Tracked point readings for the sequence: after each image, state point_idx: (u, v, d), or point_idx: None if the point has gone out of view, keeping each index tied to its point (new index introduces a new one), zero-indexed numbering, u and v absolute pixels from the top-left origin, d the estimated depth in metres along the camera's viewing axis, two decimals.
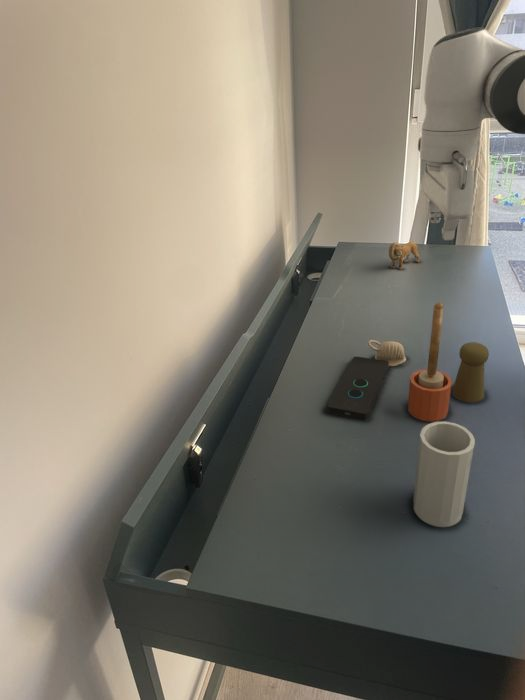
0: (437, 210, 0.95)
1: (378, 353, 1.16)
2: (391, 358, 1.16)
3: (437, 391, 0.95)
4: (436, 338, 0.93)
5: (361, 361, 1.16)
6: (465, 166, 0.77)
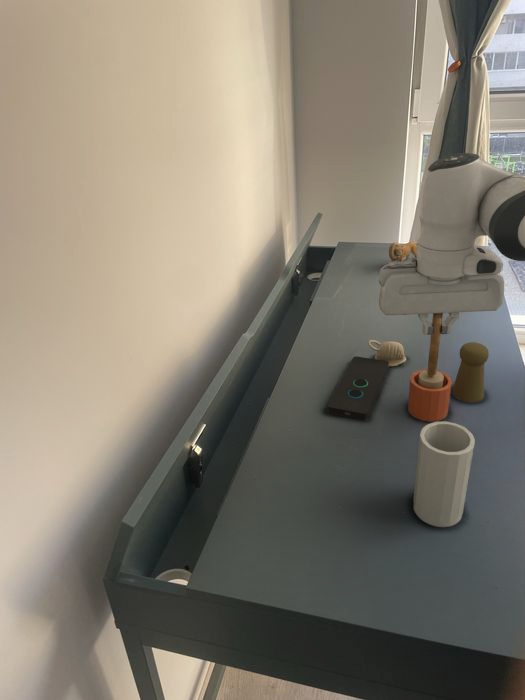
0: (447, 323, 0.92)
1: (378, 353, 1.16)
2: (391, 358, 1.16)
3: (437, 391, 0.95)
4: (436, 338, 0.93)
5: (361, 361, 1.16)
6: (381, 268, 0.88)
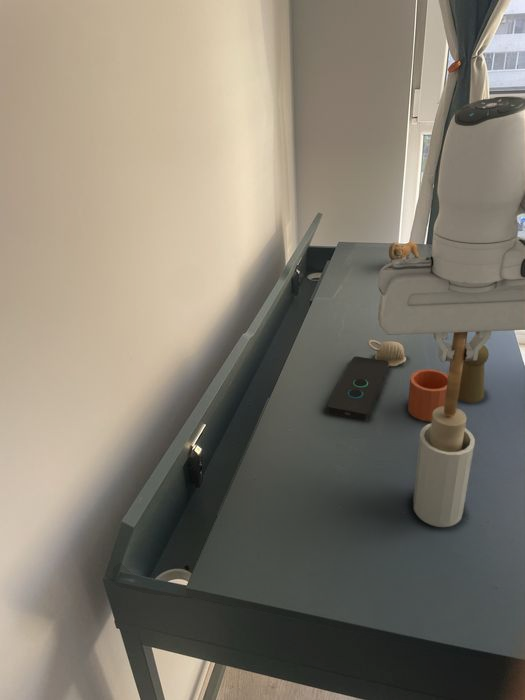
0: (474, 346, 0.66)
1: (378, 353, 1.16)
2: (391, 358, 1.16)
3: (437, 391, 0.95)
4: (458, 366, 0.67)
5: (361, 361, 1.16)
6: None
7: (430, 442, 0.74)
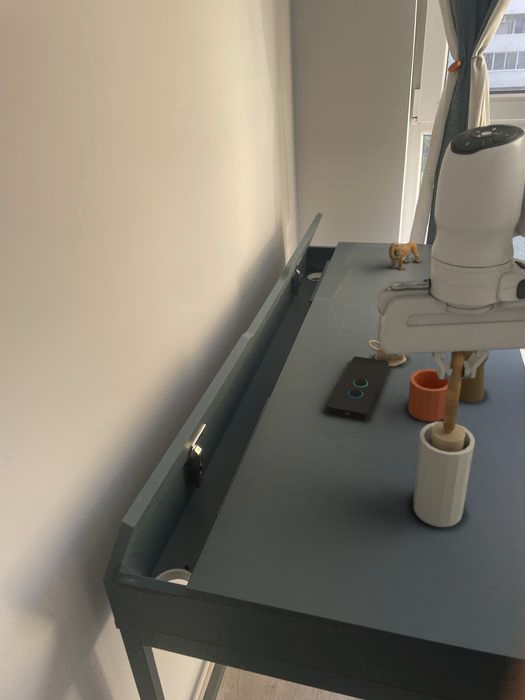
0: (472, 364, 0.67)
1: (378, 353, 1.16)
2: (391, 358, 1.16)
3: (437, 391, 0.95)
4: (456, 384, 0.68)
5: (361, 361, 1.16)
6: None
7: None
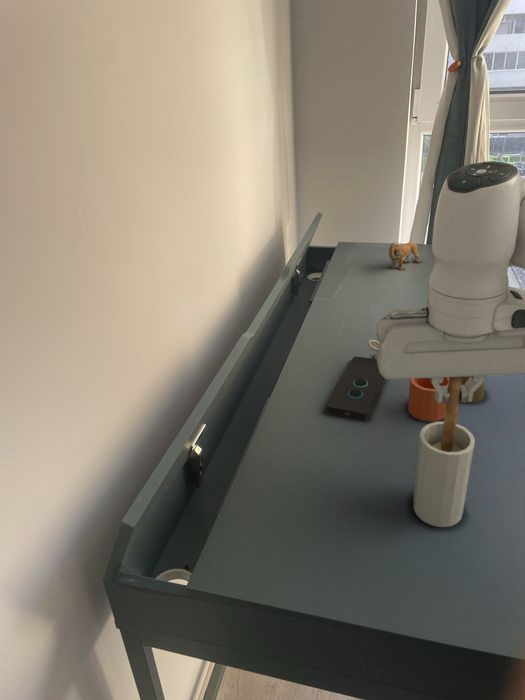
0: (469, 388, 0.69)
1: None
2: None
3: None
4: (454, 407, 0.70)
5: (361, 361, 1.16)
6: None
7: None
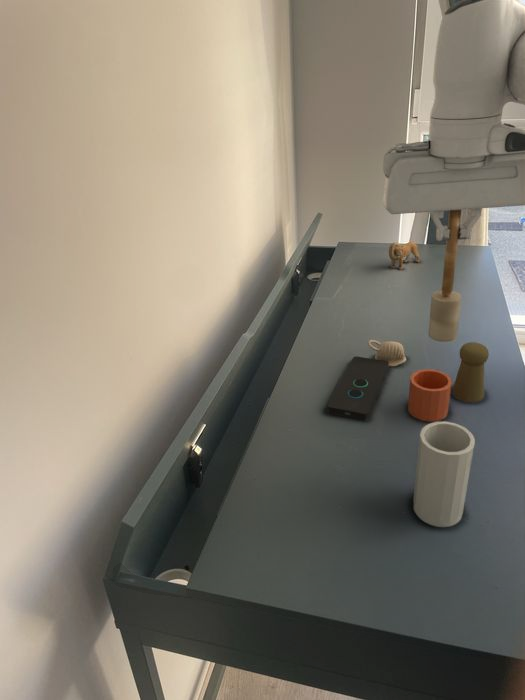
0: (467, 225, 0.76)
1: (378, 353, 1.16)
2: (391, 358, 1.16)
3: (437, 391, 0.95)
4: (453, 245, 0.77)
5: (361, 361, 1.16)
6: (386, 153, 0.72)
7: (430, 322, 0.84)
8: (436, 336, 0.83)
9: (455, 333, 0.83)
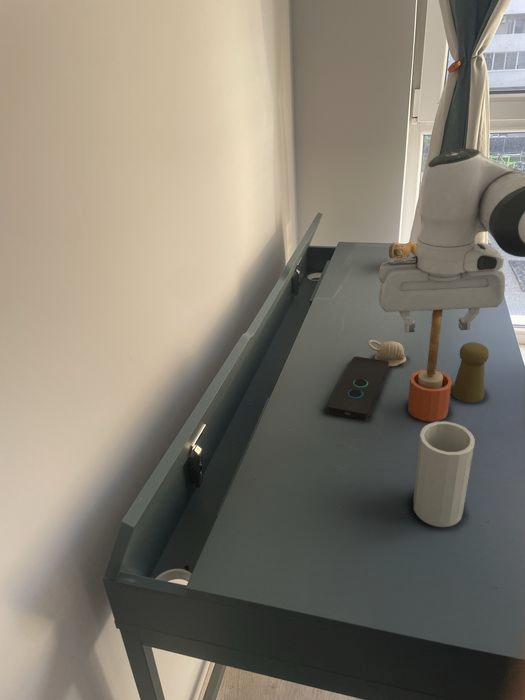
0: (467, 319, 0.91)
1: (378, 353, 1.16)
2: (391, 358, 1.16)
3: (437, 391, 0.95)
4: (436, 338, 0.93)
5: (361, 361, 1.16)
6: None
7: None
8: None
9: None
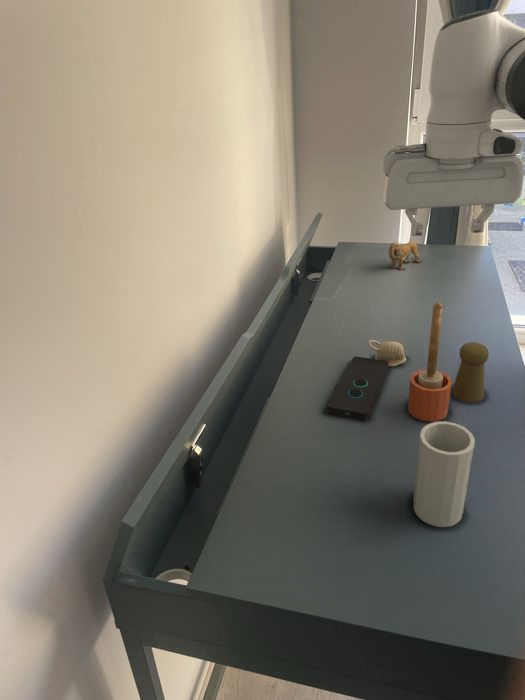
0: (480, 219, 0.83)
1: (378, 353, 1.16)
2: (391, 358, 1.16)
3: (437, 391, 0.95)
4: (436, 338, 0.93)
5: (361, 361, 1.16)
6: (386, 154, 0.79)
7: None
8: None
9: None
